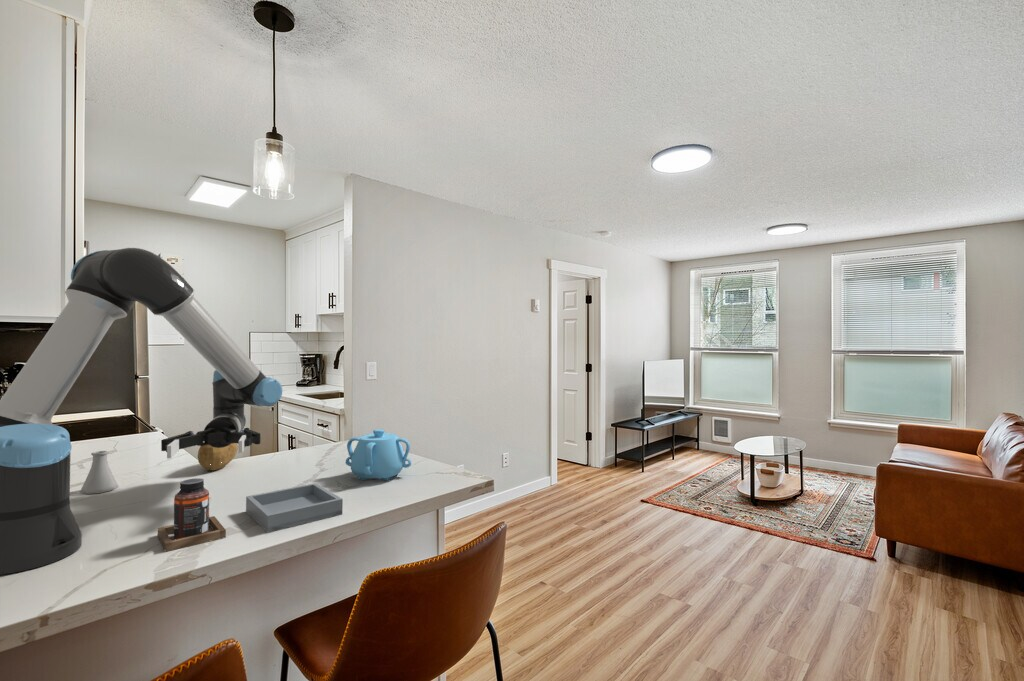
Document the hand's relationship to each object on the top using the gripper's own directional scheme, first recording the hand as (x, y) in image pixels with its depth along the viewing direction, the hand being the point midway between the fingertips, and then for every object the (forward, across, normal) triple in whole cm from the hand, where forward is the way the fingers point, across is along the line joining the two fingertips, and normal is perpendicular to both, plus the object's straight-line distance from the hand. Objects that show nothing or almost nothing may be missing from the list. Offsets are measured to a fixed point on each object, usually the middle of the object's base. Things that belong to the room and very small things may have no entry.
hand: (205, 449), depth 107 cm
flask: (-31, +29, -16) cm, 46 cm away
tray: (+3, -18, -16) cm, 24 cm away
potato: (-46, +5, -16) cm, 49 cm away
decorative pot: (-21, -40, -16) cm, 48 cm away
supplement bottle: (+10, +1, -16) cm, 19 cm away
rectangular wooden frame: (+10, +1, -15) cm, 18 cm away
